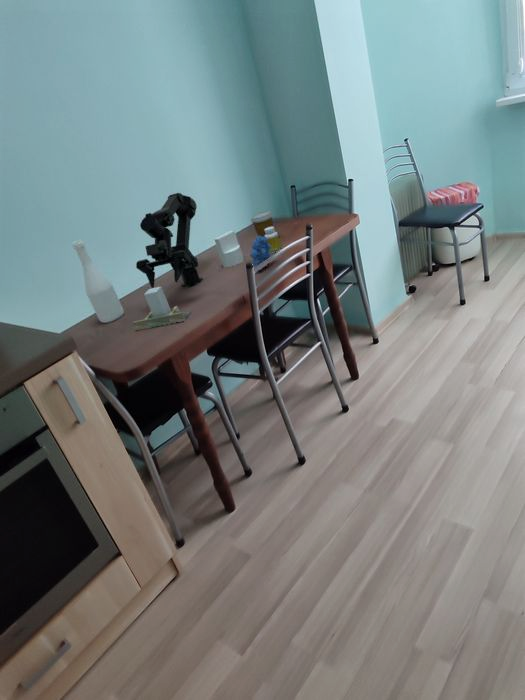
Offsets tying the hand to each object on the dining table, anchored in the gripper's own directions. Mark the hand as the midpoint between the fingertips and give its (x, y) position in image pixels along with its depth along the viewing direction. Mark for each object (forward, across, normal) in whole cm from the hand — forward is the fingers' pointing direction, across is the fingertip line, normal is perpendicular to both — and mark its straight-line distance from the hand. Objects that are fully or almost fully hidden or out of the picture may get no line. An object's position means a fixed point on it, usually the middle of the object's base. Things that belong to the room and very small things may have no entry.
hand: (164, 284), depth 168 cm
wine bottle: (+5, -26, +8) cm, 28 cm away
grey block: (+13, 0, 0) cm, 13 cm away
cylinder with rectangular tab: (-19, +14, +33) cm, 40 cm away
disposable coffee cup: (-33, +26, +47) cm, 63 cm away
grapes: (-9, +30, +23) cm, 39 cm away
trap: (+13, 0, 0) cm, 13 cm away
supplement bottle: (-21, +32, +35) cm, 52 cm away
